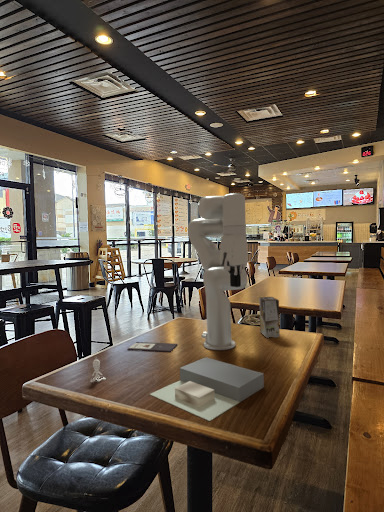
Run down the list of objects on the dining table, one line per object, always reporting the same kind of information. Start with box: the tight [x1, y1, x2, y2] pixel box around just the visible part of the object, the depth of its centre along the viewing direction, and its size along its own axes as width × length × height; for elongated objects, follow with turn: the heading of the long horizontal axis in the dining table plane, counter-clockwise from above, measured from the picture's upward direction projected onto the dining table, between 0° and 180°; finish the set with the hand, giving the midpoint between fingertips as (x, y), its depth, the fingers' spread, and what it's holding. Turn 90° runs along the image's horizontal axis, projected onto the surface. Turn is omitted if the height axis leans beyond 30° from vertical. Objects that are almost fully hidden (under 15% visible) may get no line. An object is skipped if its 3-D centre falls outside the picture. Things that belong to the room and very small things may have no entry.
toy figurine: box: [89, 356, 107, 383], centre depth 106 cm, size 5×8×7 cm, turn 175°
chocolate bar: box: [127, 341, 178, 353], centre depth 138 cm, size 9×1×18 cm
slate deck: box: [179, 357, 265, 404], centre depth 102 cm, size 22×12×4 cm, turn 47°
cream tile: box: [175, 381, 215, 407], centre depth 93 cm, size 9×6×2 cm, turn 47°
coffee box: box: [258, 296, 281, 339], centre depth 150 cm, size 9×6×16 cm
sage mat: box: [149, 379, 239, 422], centre depth 93 cm, size 22×12×1 cm, turn 47°
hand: (235, 286), depth 115 cm, fingers closed
